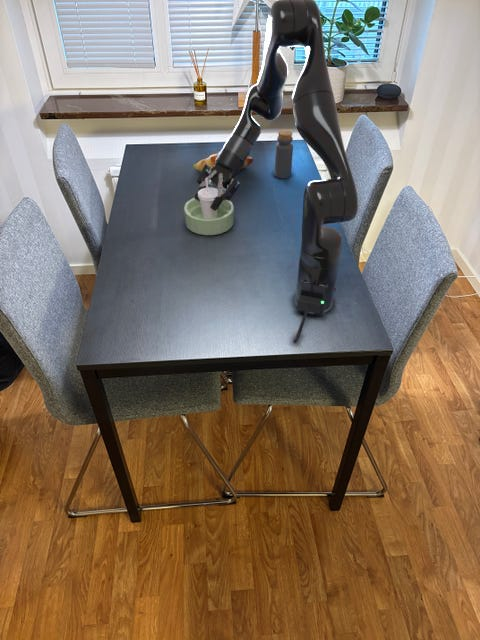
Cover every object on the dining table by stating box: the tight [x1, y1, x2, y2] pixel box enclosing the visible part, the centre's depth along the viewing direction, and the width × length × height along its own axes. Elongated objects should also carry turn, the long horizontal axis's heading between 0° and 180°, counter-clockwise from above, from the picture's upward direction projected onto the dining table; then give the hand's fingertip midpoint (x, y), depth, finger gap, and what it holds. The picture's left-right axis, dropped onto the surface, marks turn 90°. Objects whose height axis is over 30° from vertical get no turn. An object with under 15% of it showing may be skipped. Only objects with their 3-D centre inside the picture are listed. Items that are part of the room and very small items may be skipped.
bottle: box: [273, 129, 294, 179], centre depth 172 cm, size 6×6×15 cm
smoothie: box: [197, 178, 218, 219], centre depth 149 cm, size 6×6×14 cm
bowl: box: [183, 197, 235, 236], centre depth 152 cm, size 15×15×6 cm
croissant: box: [193, 150, 254, 172], centre depth 178 cm, size 21×10×8 cm, turn 104°
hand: (204, 204), depth 148 cm, fingers closed on smoothie, 6 cm apart
